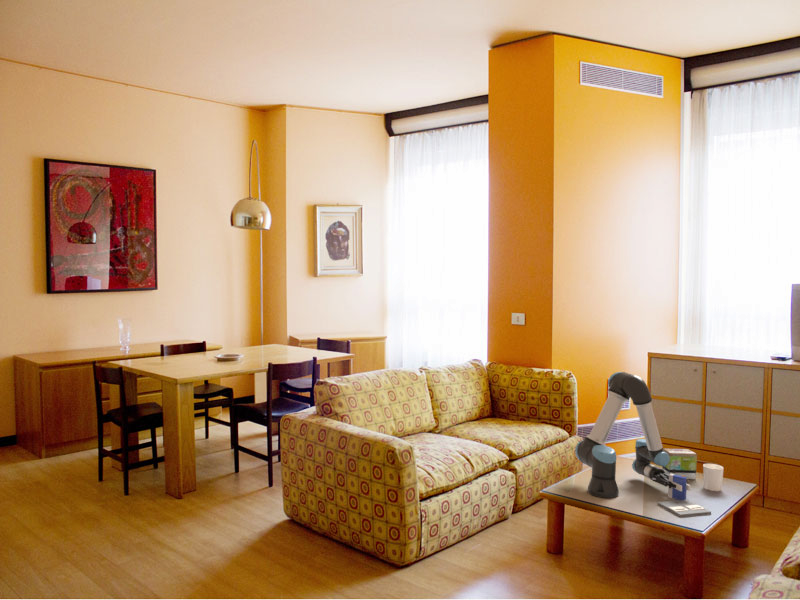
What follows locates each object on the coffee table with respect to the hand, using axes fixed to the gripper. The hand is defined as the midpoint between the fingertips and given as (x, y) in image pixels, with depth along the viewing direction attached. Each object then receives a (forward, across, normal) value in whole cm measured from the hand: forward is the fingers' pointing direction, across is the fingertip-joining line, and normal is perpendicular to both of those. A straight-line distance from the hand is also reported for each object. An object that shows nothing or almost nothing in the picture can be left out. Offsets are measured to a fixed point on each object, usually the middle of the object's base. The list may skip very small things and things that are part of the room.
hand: (685, 488), depth 302 cm
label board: (+8, +7, -7) cm, 13 cm away
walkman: (-5, 0, -7) cm, 9 cm away
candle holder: (-14, -29, -7) cm, 33 cm away
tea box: (-35, -25, -7) cm, 44 cm away
